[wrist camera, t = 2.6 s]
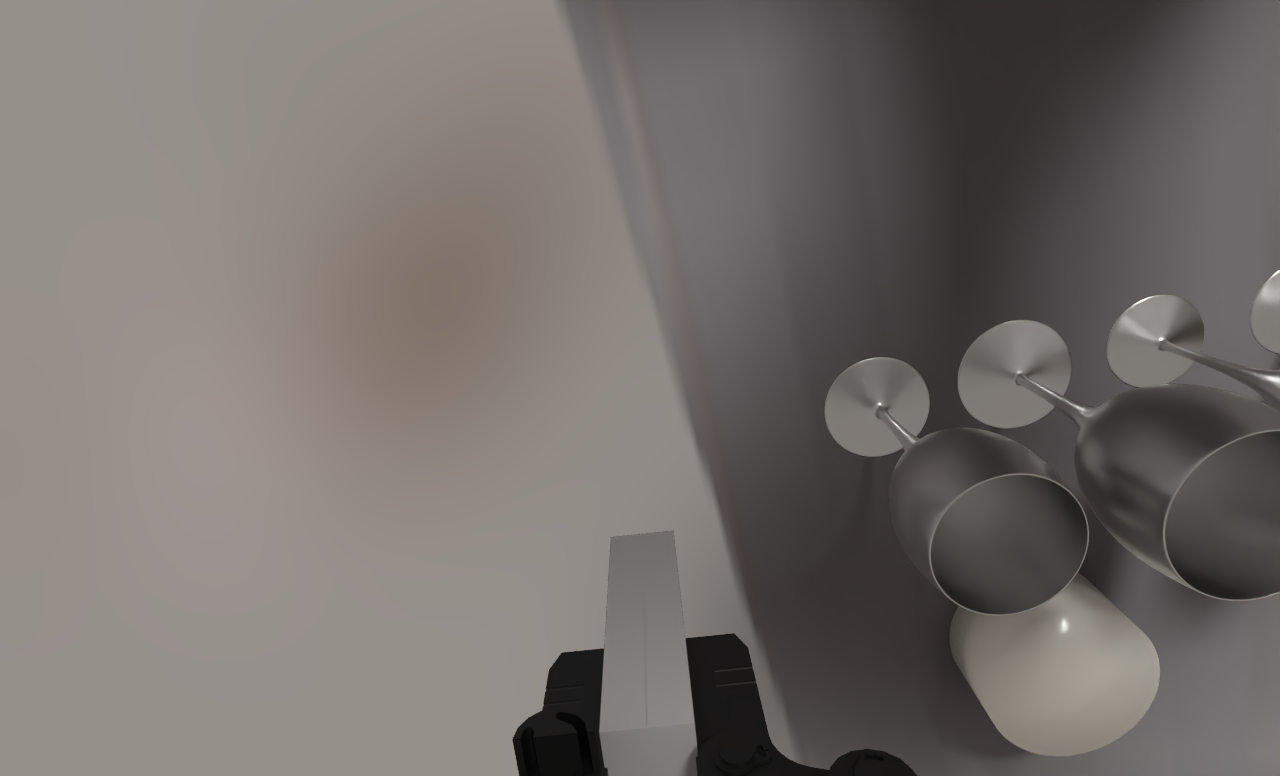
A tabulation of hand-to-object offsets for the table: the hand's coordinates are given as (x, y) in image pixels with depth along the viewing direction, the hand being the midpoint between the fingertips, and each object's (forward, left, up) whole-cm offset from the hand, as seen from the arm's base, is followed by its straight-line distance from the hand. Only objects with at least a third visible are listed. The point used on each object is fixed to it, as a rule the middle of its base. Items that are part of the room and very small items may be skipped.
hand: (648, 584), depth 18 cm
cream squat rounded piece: (+13, +16, -14) cm, 25 cm away
